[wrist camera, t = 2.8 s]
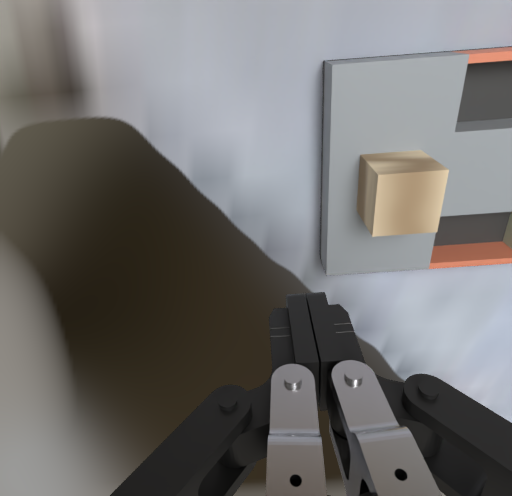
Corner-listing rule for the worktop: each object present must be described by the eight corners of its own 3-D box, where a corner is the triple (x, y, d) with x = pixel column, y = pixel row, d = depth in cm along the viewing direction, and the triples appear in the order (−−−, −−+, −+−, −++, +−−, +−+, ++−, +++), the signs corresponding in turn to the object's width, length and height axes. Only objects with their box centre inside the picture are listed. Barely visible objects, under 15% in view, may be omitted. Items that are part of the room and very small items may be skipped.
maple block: (356, 210, 27) (372, 236, 24) (360, 154, 25) (378, 174, 22) (412, 206, 27) (437, 232, 24) (421, 150, 25) (449, 169, 22)
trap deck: (320, 256, 33) (333, 299, 27) (323, 60, 25) (343, 69, 20) (557, 239, 32) (617, 280, 27) (632, 36, 25) (735, 39, 20)
